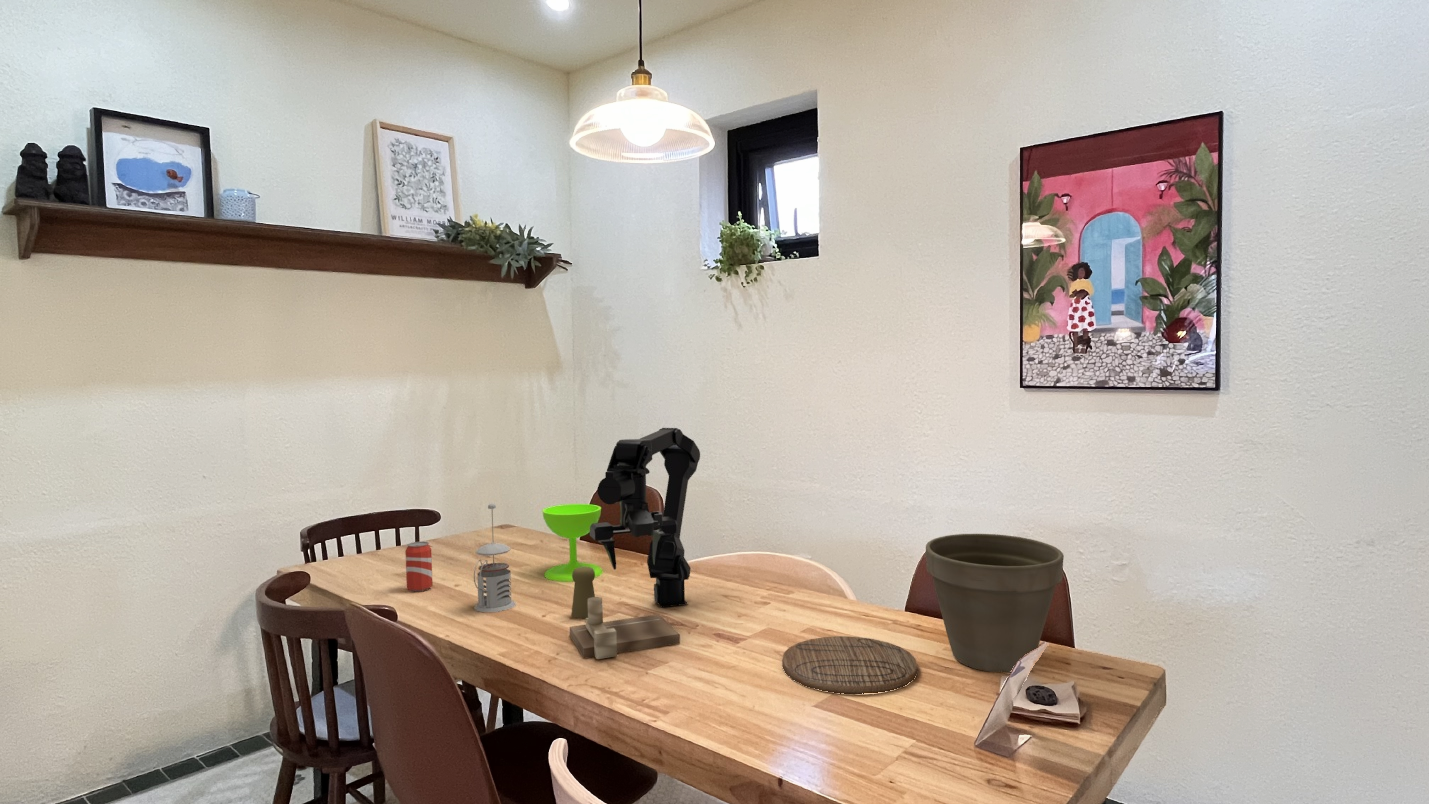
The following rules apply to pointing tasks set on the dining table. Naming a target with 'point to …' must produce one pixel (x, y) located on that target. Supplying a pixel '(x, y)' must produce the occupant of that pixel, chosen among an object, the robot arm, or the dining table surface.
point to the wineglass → (571, 534)
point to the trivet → (849, 665)
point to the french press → (493, 578)
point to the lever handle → (600, 630)
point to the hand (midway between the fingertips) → (634, 566)
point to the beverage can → (418, 566)
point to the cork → (582, 591)
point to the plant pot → (993, 595)
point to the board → (629, 634)
